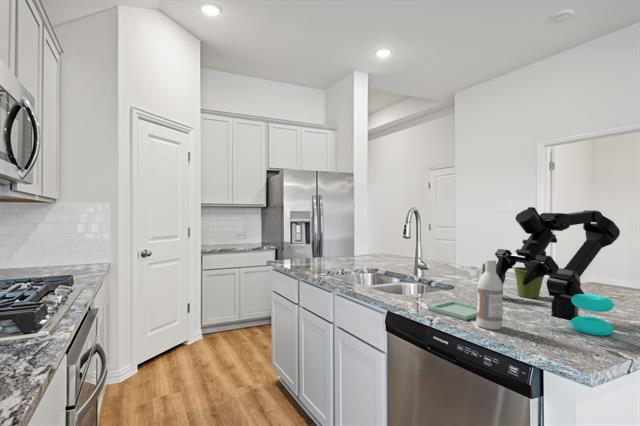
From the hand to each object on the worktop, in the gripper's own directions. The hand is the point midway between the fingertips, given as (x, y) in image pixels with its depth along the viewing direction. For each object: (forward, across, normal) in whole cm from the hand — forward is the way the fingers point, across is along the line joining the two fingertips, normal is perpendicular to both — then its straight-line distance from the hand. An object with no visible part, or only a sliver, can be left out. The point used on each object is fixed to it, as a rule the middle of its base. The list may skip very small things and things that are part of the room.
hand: (510, 281), depth 111 cm
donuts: (-2, -13, -22) cm, 26 cm away
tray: (+14, +14, -4) cm, 21 cm away
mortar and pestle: (-6, +26, -26) cm, 37 cm away
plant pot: (-16, +24, -37) cm, 47 cm away
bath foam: (+16, -1, -3) cm, 16 cm away
